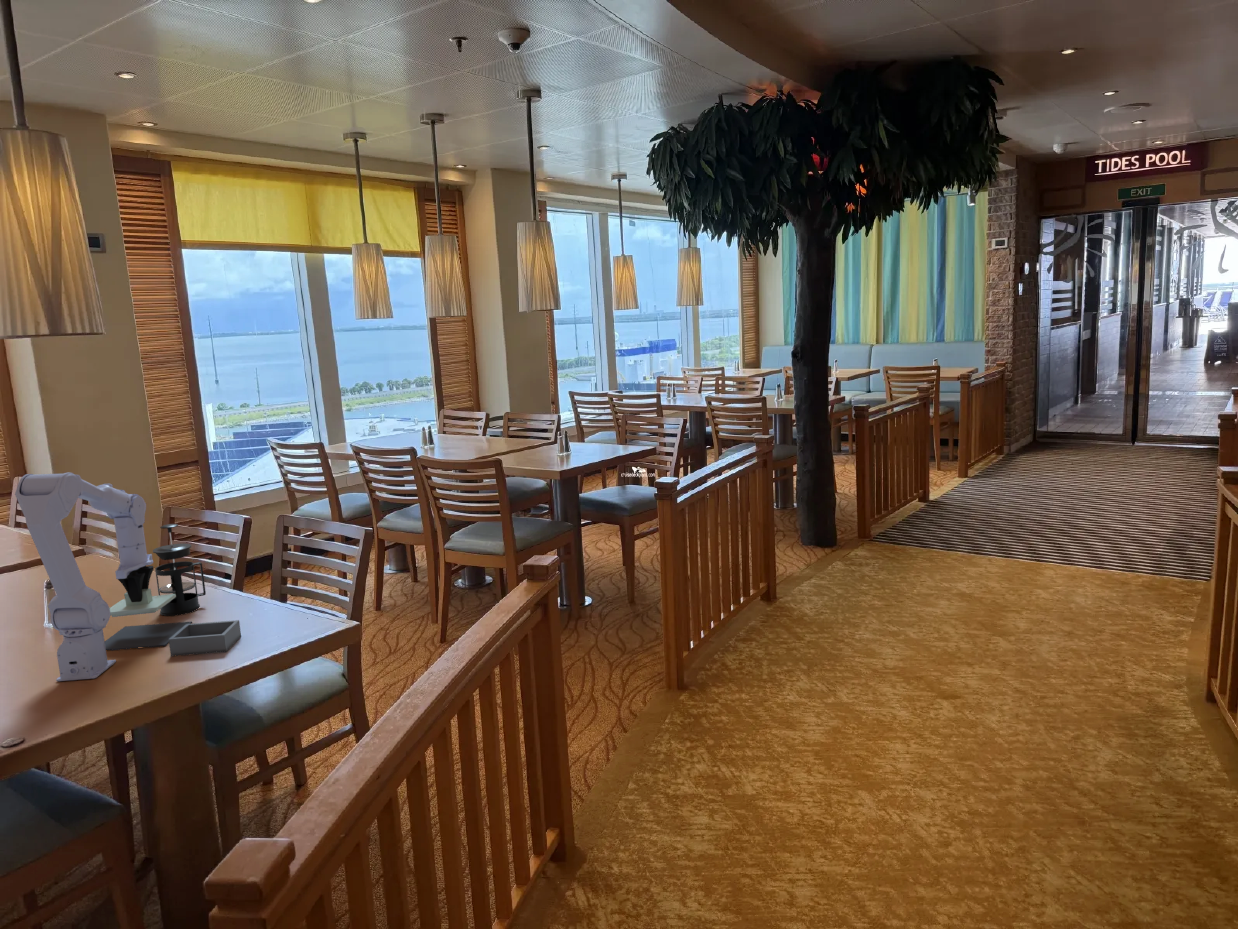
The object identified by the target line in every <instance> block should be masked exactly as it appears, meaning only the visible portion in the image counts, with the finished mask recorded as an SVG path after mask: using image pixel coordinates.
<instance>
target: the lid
mask: <svg viewBox="0 0 1238 929" xmlns="http://www.w3.org/2000/svg"><path fill="white" fill-rule="evenodd" d="M123 596H124V598H123V599H121V600H120V601H117V603H114V604H113V605H112V606H109V608H110V617H111V618H117V617H127V616H134V615H135V616H136V615H144V614H145V615H146V614H154V613H156V612H158V611H160V610H161V608H162V607H163V606H165V605H166V604H167V603H169V602H170V601H171V600H173V599H174V598H175V597H176V594H173V593H170V594H160V595H159V594H158V595H153V594H152V589H151V588H148V589H142V601H141V602H131V600H130V598H129V595H128V593H127V591H126V592H125V593H124V594H123Z"/></svg>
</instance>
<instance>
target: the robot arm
mask: <svg viewBox="0 0 1238 929" xmlns="http://www.w3.org/2000/svg"><path fill="white" fill-rule="evenodd" d="M113 486H114V485H113V484H111V483H109V482H108V483H103V484H99V485H95V484H92V483H91V482H88V481H87V480H85V479H82V477H81V475H80V474H74V472H64V473H46V474H45V473H41V474H40V473H38V474H33V473H28V474H27V473H26V474H24V475H23V476H22V477H21V478H20V479H19V482H18V483H17V486H16V489H15V493H14V495H15V498H16V500H17V502H18V505H19V507H20V509H21V512H22V514H23V516H24V518H25V524H26V526H27V529H28V532H29V535H30V537H31V539H32V540H33V543H34V545H35V548H36V551H37V552H38V556H39V557H40V560H41V561H42V564H43V566H44V569H45V571H46V574H47V577H48V579H49V581H50V583H51V585H52V588H53V590H54V593H55V596H53V597H52V598H51V600H50V601H49V602H48V605H47V607H48V609H49V614H50V618H49V619H50V624H51V626H52V627H53V628H54V629H55V630H56V631H58V633H59V636H62V637H63V640H62V642H61V644H60V645H59V646H58V648H57V652H56V657H57V665H58V669H59V675H60V676H58V677H57V678H56V680H55V681H56V682H65V681H77V680H78V681H79V680H90V679H92V680H93V679H97V678H98V677H99V676H101V674H103V673H104V672H105V671H106V670H108V669H109V668H110V667H111V666H113V665H114V664H115V663H116V662H117V660H116V659H109V660H108V656H107V651H106V648H105V641H106V640H105V636H104V635H105V634H104V629H105V628H106V627H107V625H108V623H109V621H110V618H111V616H110V606H109V604H108V602H107V601H105V599H103V597H102V595H101V593H100V592H99V591H97V590H95V589H93V588H91V587H89V586H87V585H86V582H85V581H84V577H83V576H82V572H81V570H80V568H79V565H78V563H77V561H76V558H75V556H74V553H73V551H72V548H71V546H70V544H69V541H68V538H67V537H66V534H65V532H64V529H63V526H62V523H61V521H62V520H63V519H65V518H67V517H68V516H69V515H70V513H71V512H72V510H73V508H74V506H75V504H76V503H77V501H78V499H81V500H85V501H88V504H89V506H90V507H91V508H93V509H94V510H97V511H101V512H103V513H106V514H107V517H109V519H110V520H112V519H113V523H114V529H115V530H114V531H115V537H116V544H117V551H118V558H119V563H118V564H119V565H118V567H117V569H116V570H115V578H116V580H118V581H119V582H120V583H121V586H123V588H124V589H125V591H126V592H127V593H128V595H129V598H130V600H131V602H141V601H142V589H149V585H150V581H151V576H152V574H153V571H155V569H154V566H153V564H154V560H153V554H152V553H150V554H149V553H148V550H147V545H146V538H145V528H144V524H145V521H146V518H145V517H146V516H145V515H146V511H147V503H146V501H145V499H144V498H143V496H141V495H139V494H137V493H127V492H126V490H124V489H118V488H114V487H113Z"/></svg>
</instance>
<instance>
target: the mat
mask: <svg viewBox="0 0 1238 929" xmlns="http://www.w3.org/2000/svg"><path fill="white" fill-rule="evenodd" d="M191 623H192V624H193V621H182V622H181V621H180V622H167V623H165V622H164V623H154V624H153V623H152V624H141V625H139V624H138V625H128V626H127V625H126V626H124V627H122V628H121V629H120V630H118V631H116V633H114V634H113V635H111V636H110V637H109V638H107V639H106V640H104V641H105V648H106V650H111V651H121V650H120V649H124V650H131V649H130V648H137V649H139V648H138V647H150V648H158V647H159V648H161V647H160V646H163V647H166V646H168V645H169V644H168V643H169V638H171V637H172V636H173V635H174V634H175V633H176V632H178V631H179V630H180V629H181V628H182V627H183V626H185V625H186V624H191Z"/></svg>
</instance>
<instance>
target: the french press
mask: <svg viewBox="0 0 1238 929" xmlns="http://www.w3.org/2000/svg"><path fill="white" fill-rule="evenodd" d="M159 527H160V529H161V530H162V529H167V533H168V534H169V540H170V544H166V545H162V546H159V547H156V548H154V549H152V553H153V554H155V555H156V556H158V558H159V559H161V560H164V561H171V560H172V562H168V563H163V564H161V565H158V566H156V567H155V569H154V572H155V578H156V585H157V592H158V595H161V594H164V595H168V594H176V597H175V598H174V599H173V600H171V601H170V602H169V603H167V604H166V605H165V606H163V607H162V608H161V609H160V610H159V614H160V615H161V616H163V615H164V617H176V616H175V615H177V616H182V615H181V614H183V615H186V614H185V613H187V614H190V612H191V613H193V612H195V611H194V610H196V609H198V608H199V607H201V605H200V603H199V597H202V596H206V594H207V593H206V592H207V591H206V585H205V578H204V577H205V576H204V570H203V569H204V568H203V563H202V561H197V562H193V561H190V560H189V561H188V560H187V561H186V560H184V561H175V560H177V559H181V558H185V557H188V556H190V554H191V548H192V544H190V543H174V544H173V539H172V532H173V528H176V527H179V524H178V523H169V524H163V525H161V526H159ZM195 566H199V568H200V574H201V575H200V576H201V583H202V584H201V585H202V591H203V592H200V593H198V588H197V581H196V572H195V571H196V570H195ZM178 567H179V568H178ZM180 567H183V568H180ZM167 569H169V570H167ZM189 572H192V573H193V581H194V582H192V581H191V582H190V581H183V578H182V574H185V573H189ZM160 576H161V577H169V576H170V583H169V584H167V585H166V584H165V585H163V586H161V587H160V586H159V585H160V584H159V577H160ZM192 589H195V592H187V591H190V590H192ZM199 609H200V608H199ZM199 609H198V610H199ZM192 611H193V612H192ZM196 611H197V610H196Z"/></svg>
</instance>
